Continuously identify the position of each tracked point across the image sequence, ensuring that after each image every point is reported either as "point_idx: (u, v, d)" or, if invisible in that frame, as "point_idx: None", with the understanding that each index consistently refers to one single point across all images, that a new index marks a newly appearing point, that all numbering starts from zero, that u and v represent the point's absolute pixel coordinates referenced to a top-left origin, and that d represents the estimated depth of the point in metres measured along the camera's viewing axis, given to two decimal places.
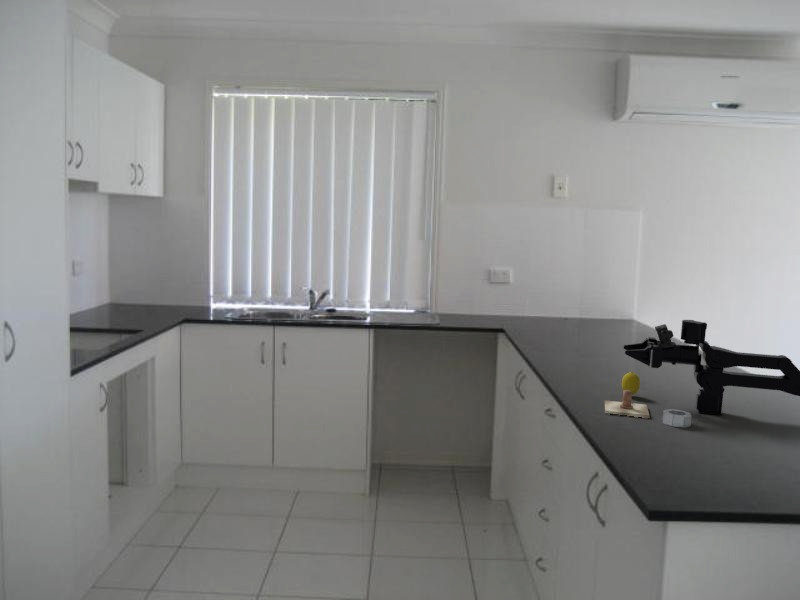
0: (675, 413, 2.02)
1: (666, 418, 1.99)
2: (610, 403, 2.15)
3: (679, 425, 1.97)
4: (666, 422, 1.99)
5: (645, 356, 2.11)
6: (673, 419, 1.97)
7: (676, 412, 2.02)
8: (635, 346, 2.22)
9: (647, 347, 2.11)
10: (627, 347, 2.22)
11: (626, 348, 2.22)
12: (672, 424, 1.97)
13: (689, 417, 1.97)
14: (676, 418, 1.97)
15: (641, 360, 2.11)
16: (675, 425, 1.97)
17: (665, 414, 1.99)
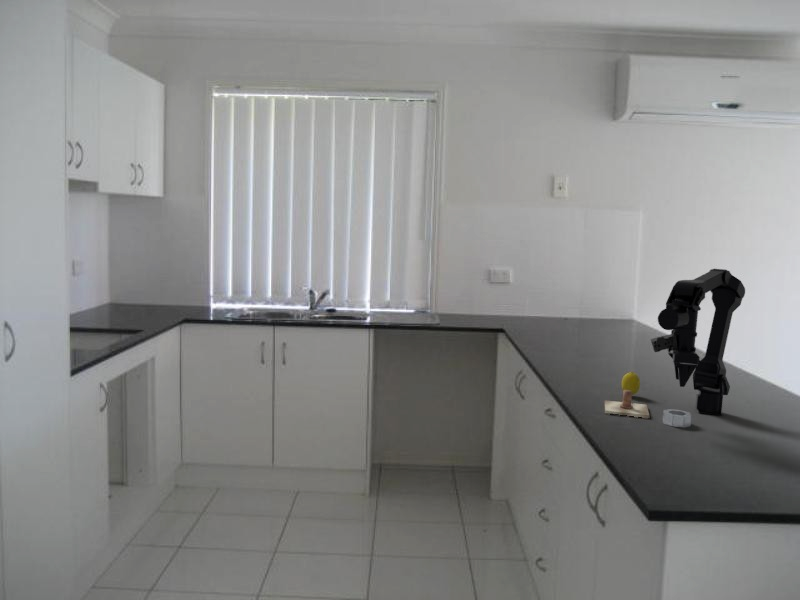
0: (675, 413, 2.02)
1: (666, 418, 1.99)
2: (610, 403, 2.15)
3: (679, 425, 1.97)
4: (666, 422, 1.99)
5: (686, 367, 1.93)
6: (673, 419, 1.97)
7: (676, 412, 2.02)
8: (677, 367, 2.03)
9: None
10: (678, 375, 2.03)
11: None
12: (672, 424, 1.97)
13: (689, 417, 1.97)
14: (676, 418, 1.97)
15: (691, 371, 1.92)
16: (675, 425, 1.97)
17: (665, 414, 1.99)
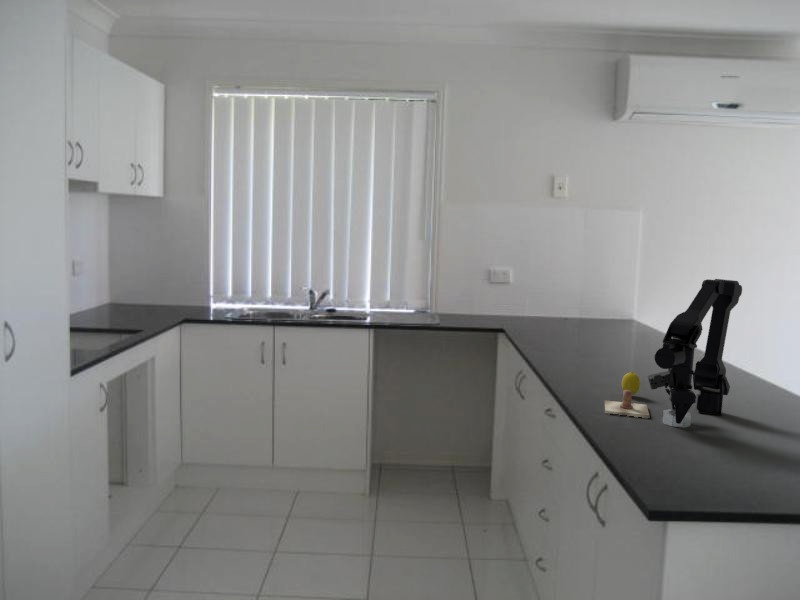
0: None
1: (666, 418, 1.99)
2: (610, 403, 2.15)
3: (679, 425, 1.97)
4: (666, 422, 1.99)
5: (682, 404, 1.95)
6: (673, 419, 1.97)
7: None
8: None
9: (672, 402, 1.95)
10: None
11: None
12: (672, 424, 1.97)
13: (689, 417, 1.97)
14: None
15: (687, 409, 1.94)
16: (675, 425, 1.97)
17: (665, 414, 1.99)
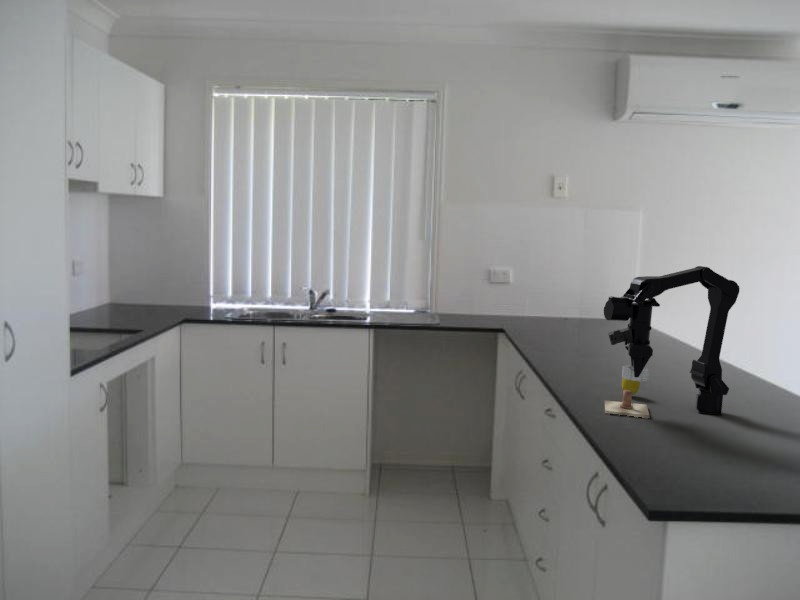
0: None
1: (625, 372, 2.07)
2: (610, 403, 2.15)
3: (637, 379, 2.05)
4: (625, 376, 2.07)
5: (640, 359, 2.03)
6: (631, 373, 2.05)
7: None
8: None
9: (630, 356, 2.03)
10: None
11: None
12: (630, 378, 2.05)
13: (647, 371, 2.05)
14: None
15: (644, 362, 2.02)
16: (633, 379, 2.05)
17: (624, 369, 2.07)
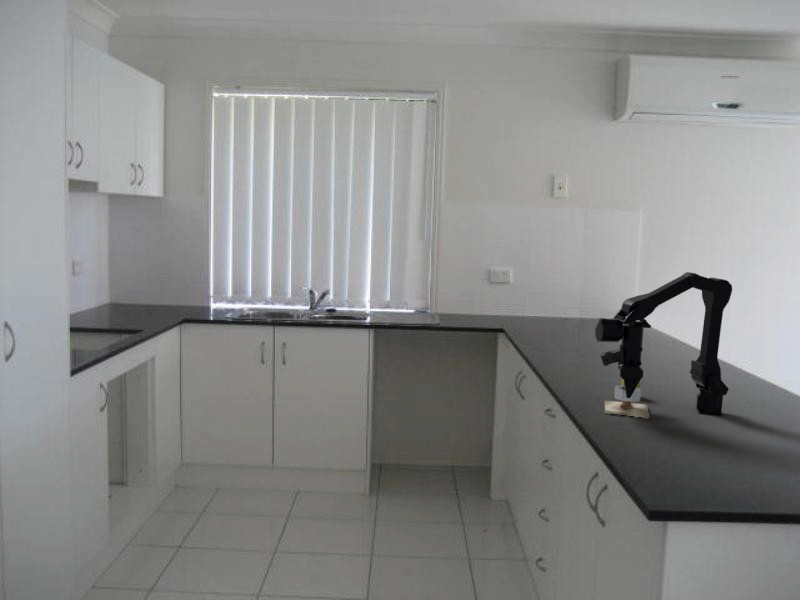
0: None
1: (617, 393, 2.09)
2: (610, 403, 2.15)
3: (629, 399, 2.07)
4: (617, 397, 2.09)
5: (632, 380, 2.05)
6: (623, 394, 2.08)
7: None
8: None
9: (622, 377, 2.06)
10: None
11: None
12: (622, 399, 2.08)
13: (639, 392, 2.08)
14: None
15: (636, 383, 2.05)
16: (625, 399, 2.08)
17: (616, 389, 2.10)
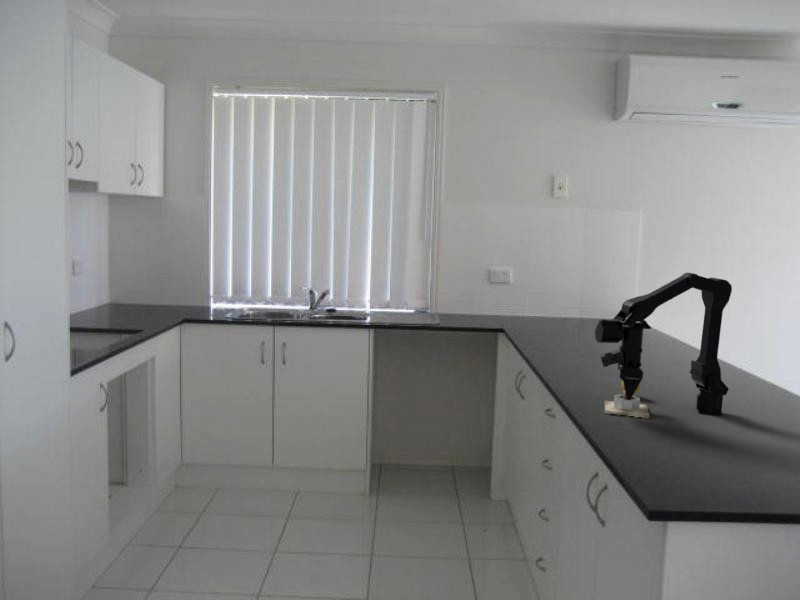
0: None
1: (616, 402, 2.10)
2: (610, 403, 2.15)
3: (628, 409, 2.08)
4: (616, 406, 2.10)
5: (632, 381, 2.04)
6: (622, 403, 2.08)
7: None
8: None
9: (622, 379, 2.05)
10: None
11: None
12: (622, 408, 2.08)
13: (638, 401, 2.08)
14: (625, 402, 2.08)
15: (636, 385, 2.04)
16: (624, 409, 2.08)
17: (615, 399, 2.10)
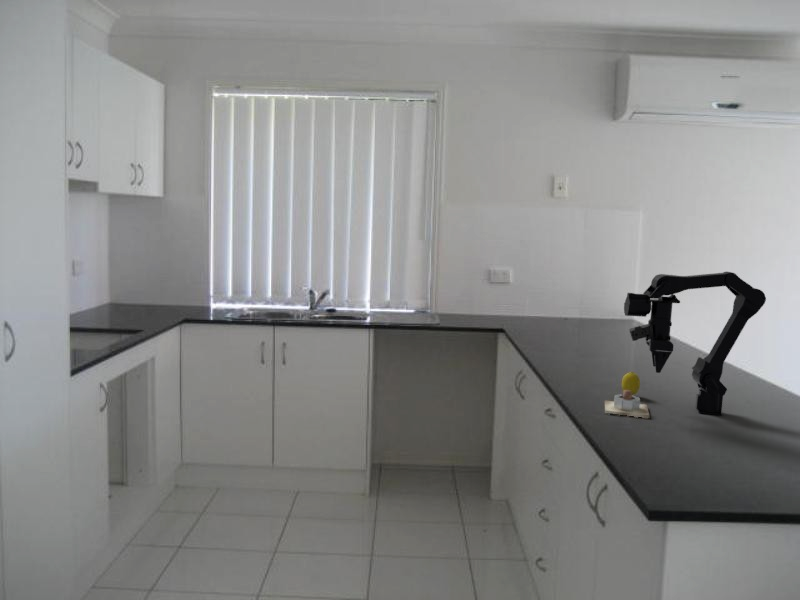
0: None
1: (616, 402, 2.10)
2: (610, 403, 2.15)
3: (628, 409, 2.08)
4: (616, 406, 2.10)
5: (661, 354, 2.07)
6: (622, 403, 2.08)
7: None
8: None
9: None
10: None
11: None
12: (622, 408, 2.08)
13: (638, 401, 2.08)
14: (625, 402, 2.08)
15: (666, 358, 2.07)
16: (624, 409, 2.08)
17: (615, 399, 2.10)
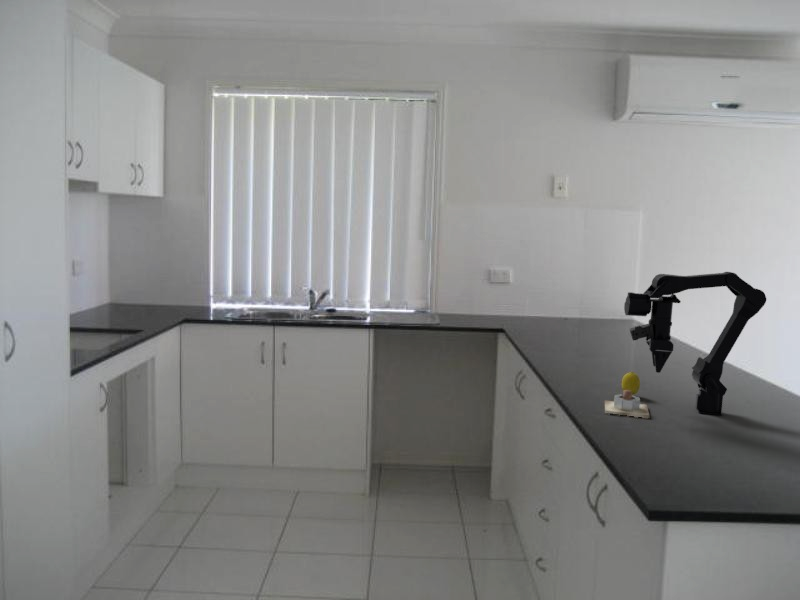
0: None
1: (616, 402, 2.10)
2: (610, 403, 2.15)
3: (628, 409, 2.08)
4: (616, 406, 2.10)
5: (661, 354, 2.07)
6: (622, 403, 2.08)
7: None
8: None
9: (652, 352, 2.08)
10: None
11: None
12: (622, 408, 2.08)
13: (638, 401, 2.08)
14: (625, 402, 2.08)
15: (666, 358, 2.07)
16: (624, 409, 2.08)
17: (615, 399, 2.10)
